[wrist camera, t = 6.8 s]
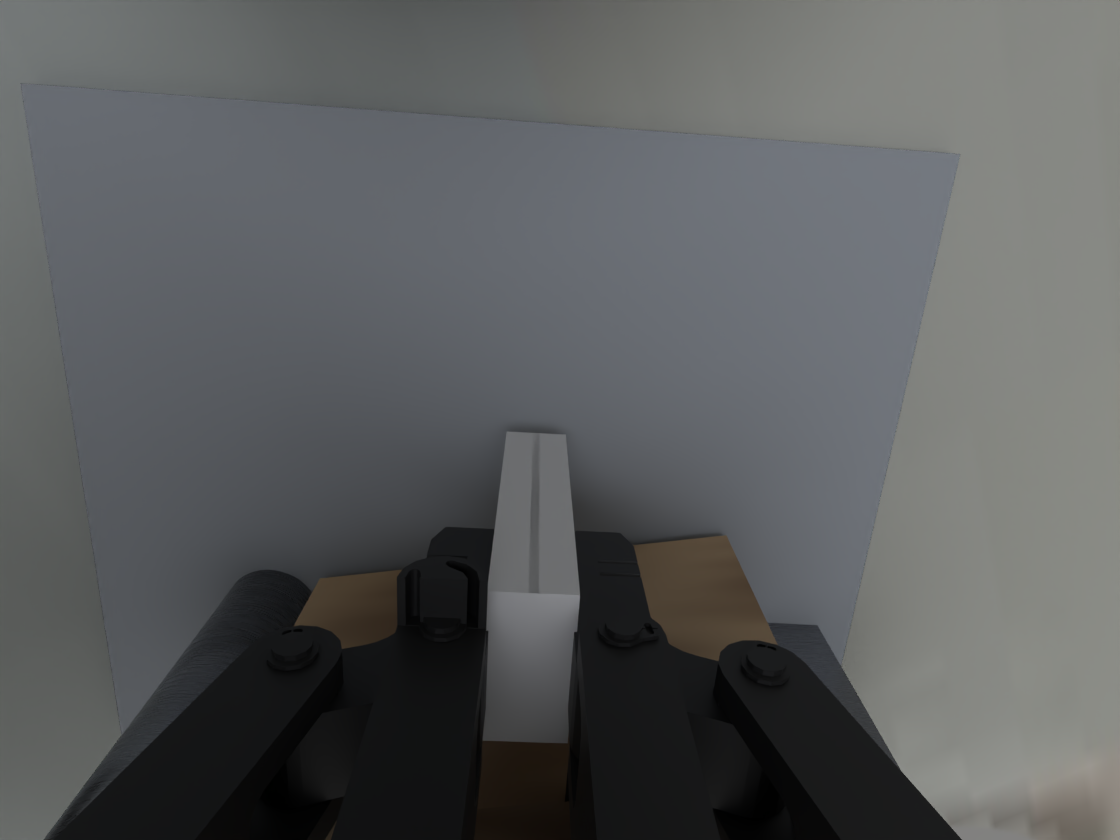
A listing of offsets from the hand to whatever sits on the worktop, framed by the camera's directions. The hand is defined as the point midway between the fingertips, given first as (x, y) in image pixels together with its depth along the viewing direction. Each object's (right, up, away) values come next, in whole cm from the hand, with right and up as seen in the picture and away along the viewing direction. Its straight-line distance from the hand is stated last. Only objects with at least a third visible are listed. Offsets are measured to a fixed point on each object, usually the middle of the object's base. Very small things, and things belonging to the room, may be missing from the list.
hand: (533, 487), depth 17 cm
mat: (-1, 0, +2) cm, 2 cm away
